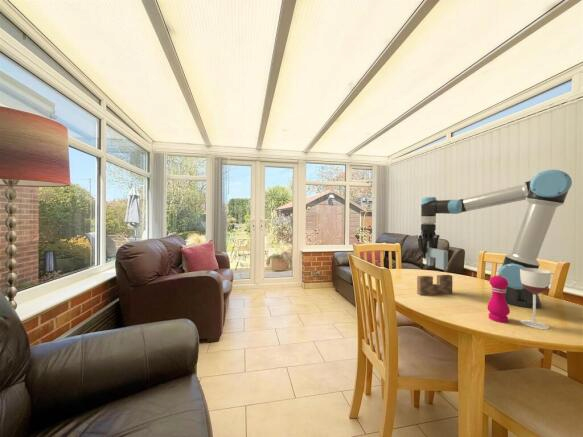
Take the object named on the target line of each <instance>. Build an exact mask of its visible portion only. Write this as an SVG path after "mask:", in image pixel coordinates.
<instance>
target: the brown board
mask: <svg viewBox="0 0 583 437" xmlns="http://www.w3.org/2000/svg"><path fill="white" fill-rule="evenodd" d="M416 277H417V278H416V280H417V281H416V284H417V286H416V288H417V289H416V294H417V295H419V296H429V295H431V296H432V295H433V296H434V295H447V294H448V295H449V294H453V275H451V274H437V275H436V283H434V276H432V275H417V276H416Z"/></svg>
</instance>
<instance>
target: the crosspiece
mask: <svg viewBox="0 0 583 437" xmlns="http://www.w3.org/2000/svg"><path fill="white" fill-rule="evenodd" d="M426 253H428V260H427V264H424V263H423V262H422V264H424V265H425V266H429V267H430V266H431V267H432V266H434V265H435V268H436V269H440V270H443V271H448V269H449V251H448V250H446V249H445V250H444V249H439V248H437V249H435V248H430V247H429V246H427V251H426ZM434 259H435V264H434Z"/></svg>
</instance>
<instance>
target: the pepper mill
mask: <svg viewBox="0 0 583 437" xmlns="http://www.w3.org/2000/svg"><path fill="white" fill-rule="evenodd" d="M489 284H490V290H491V293H492V294H491V297H490V300H489V301H488V304H487V307H486V308H487V309H486V310H488V312H489V313H488V319H490V320H492V321H493V322H496V323H497V322H498V323H502V324H503V323H505V324H507V323H508V322H509V314H510V311H511V309H510V306H509V304H508V303H507V302H506V300H505V293H506V289H505V288H506V287H507V286H508V281H507V280H506V279H505V278H504V277H501V273H499V272H497V273H496V274H495V275H494V276H492V277H490V279H489Z"/></svg>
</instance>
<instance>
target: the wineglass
mask: <svg viewBox="0 0 583 437" xmlns="http://www.w3.org/2000/svg"><path fill="white" fill-rule="evenodd" d="M520 278H521V283H522V285H523V287H524V288H525V289H526V290H528V291H530V292H531V293H533V308H532V319H531V320H530V319H521V320H519V322H520V323H521V324H523V325H525V326H527V327H530V328H535V329H541V330H549V329H550V326H549V325H546V324H544V323H543V322H539V321H536V320H537V314H536V313H537V308H536V294H538V295H539V294H541V293H546V291H547V290H548V289H549V287H550V284H551V278H552V272H551V271H550V270H547V269H541V268H538V269H535V268H520Z"/></svg>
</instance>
